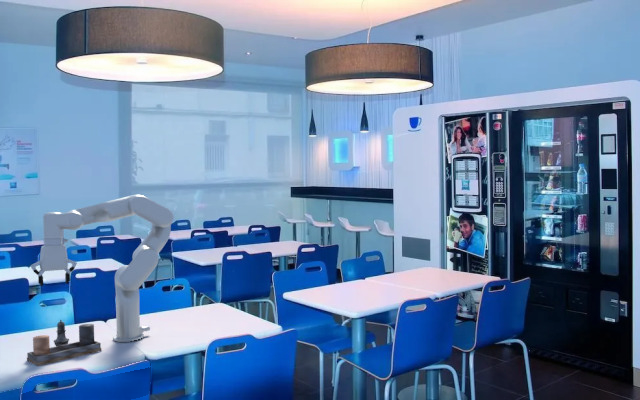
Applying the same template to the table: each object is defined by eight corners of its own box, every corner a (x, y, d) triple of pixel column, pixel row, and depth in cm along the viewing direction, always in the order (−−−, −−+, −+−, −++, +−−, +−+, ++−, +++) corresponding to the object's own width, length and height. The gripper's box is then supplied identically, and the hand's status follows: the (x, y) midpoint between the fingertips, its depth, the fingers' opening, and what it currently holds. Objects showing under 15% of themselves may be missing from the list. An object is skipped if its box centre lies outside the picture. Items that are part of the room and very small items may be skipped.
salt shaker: (54, 351, 242) (53, 322, 242) (53, 348, 248) (52, 319, 247) (70, 349, 245) (69, 320, 245) (68, 346, 250) (68, 317, 250)
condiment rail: (89, 346, 249) (88, 322, 249) (101, 351, 243) (100, 325, 242) (26, 360, 231) (26, 334, 230) (38, 366, 224) (37, 338, 224)
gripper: (74, 240, 254) (75, 281, 255) (29, 242, 245) (29, 285, 246) (78, 242, 248) (78, 283, 249) (31, 244, 239) (32, 287, 239)
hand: (54, 284), depth 247 cm, fingers open, 9 cm apart
